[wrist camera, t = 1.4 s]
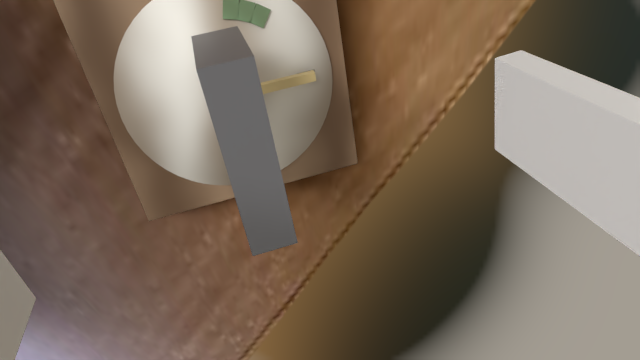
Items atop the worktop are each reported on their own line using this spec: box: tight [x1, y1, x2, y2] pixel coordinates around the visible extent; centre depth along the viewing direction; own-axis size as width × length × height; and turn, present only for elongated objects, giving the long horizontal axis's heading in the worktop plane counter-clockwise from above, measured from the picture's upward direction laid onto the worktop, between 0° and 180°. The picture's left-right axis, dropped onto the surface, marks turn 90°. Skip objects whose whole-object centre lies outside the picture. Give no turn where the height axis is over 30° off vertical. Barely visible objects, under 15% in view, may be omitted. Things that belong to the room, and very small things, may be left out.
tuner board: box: [53, 0, 358, 221], centre depth 31 cm, size 16×22×4 cm
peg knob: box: [191, 26, 316, 256], centre depth 27 cm, size 7×10×11 cm
